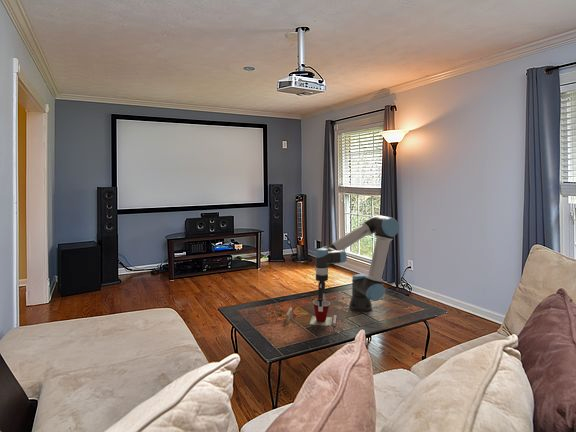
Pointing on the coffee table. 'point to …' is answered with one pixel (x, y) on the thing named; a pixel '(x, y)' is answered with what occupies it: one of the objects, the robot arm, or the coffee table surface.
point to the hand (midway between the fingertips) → (321, 307)
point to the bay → (314, 319)
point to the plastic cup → (321, 315)
